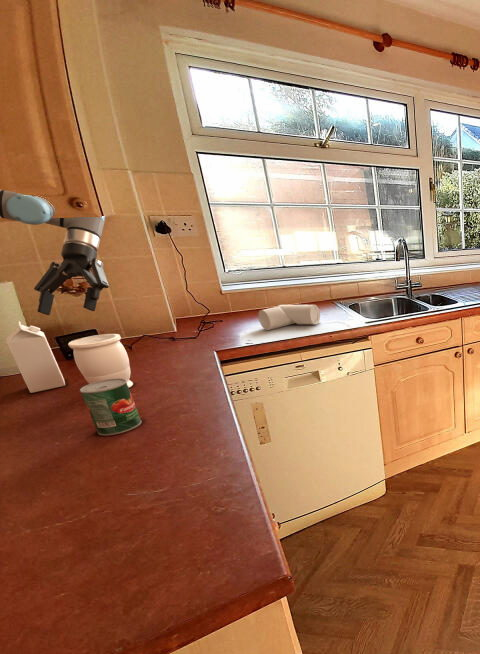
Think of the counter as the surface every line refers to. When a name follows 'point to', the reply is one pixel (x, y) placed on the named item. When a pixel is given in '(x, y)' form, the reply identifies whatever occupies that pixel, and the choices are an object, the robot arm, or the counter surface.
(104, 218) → the robot arm
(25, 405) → the counter surface
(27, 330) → the milk carton
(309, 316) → the l-shaped cylinder
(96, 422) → the canned tomato
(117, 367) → the jar
